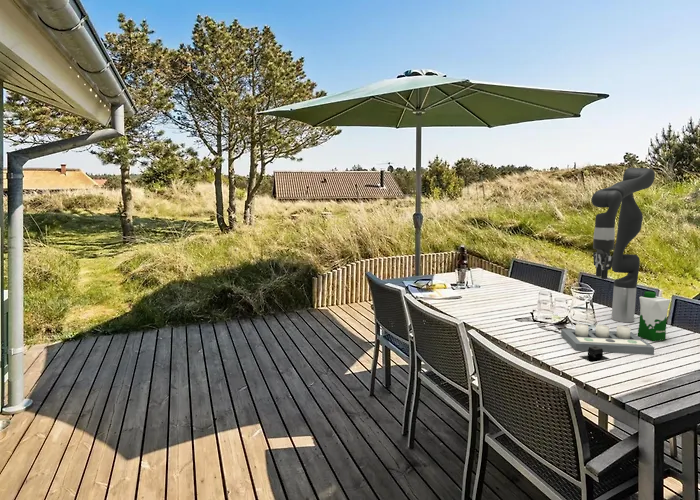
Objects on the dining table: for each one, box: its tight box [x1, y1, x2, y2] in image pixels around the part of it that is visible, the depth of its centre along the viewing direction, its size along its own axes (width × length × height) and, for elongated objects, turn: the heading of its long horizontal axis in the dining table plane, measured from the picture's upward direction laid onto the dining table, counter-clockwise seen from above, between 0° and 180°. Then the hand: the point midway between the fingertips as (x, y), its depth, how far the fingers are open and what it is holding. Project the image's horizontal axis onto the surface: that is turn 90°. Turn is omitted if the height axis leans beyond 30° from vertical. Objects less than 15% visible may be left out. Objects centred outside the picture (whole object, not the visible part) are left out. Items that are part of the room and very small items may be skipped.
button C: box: [574, 323, 590, 337], centre depth 167 cm, size 5×5×5 cm
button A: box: [615, 325, 632, 339], centre depth 164 cm, size 5×5×5 cm
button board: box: [560, 328, 656, 356], centre depth 164 cm, size 18×28×3 cm, turn 79°
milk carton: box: [636, 290, 671, 343], centre depth 169 cm, size 9×9×20 cm
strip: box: [576, 337, 647, 346], centre depth 159 cm, size 5×24×1 cm, turn 79°
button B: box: [595, 324, 610, 338], centre depth 166 cm, size 5×5×5 cm
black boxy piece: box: [578, 346, 610, 363], centre depth 150 cm, size 12×7×5 cm, turn 105°
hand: (601, 277), depth 167 cm, fingers open, 4 cm apart
